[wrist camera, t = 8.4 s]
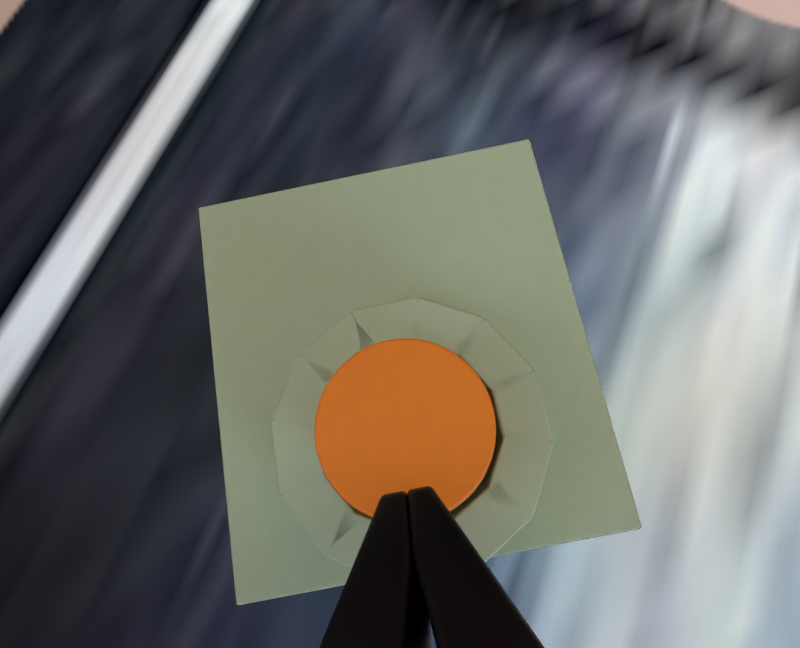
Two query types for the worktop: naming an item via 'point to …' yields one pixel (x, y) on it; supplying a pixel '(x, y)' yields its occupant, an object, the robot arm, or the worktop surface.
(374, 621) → the robot arm
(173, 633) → the worktop surface
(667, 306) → the worktop surface
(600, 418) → the button base
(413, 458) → the button
